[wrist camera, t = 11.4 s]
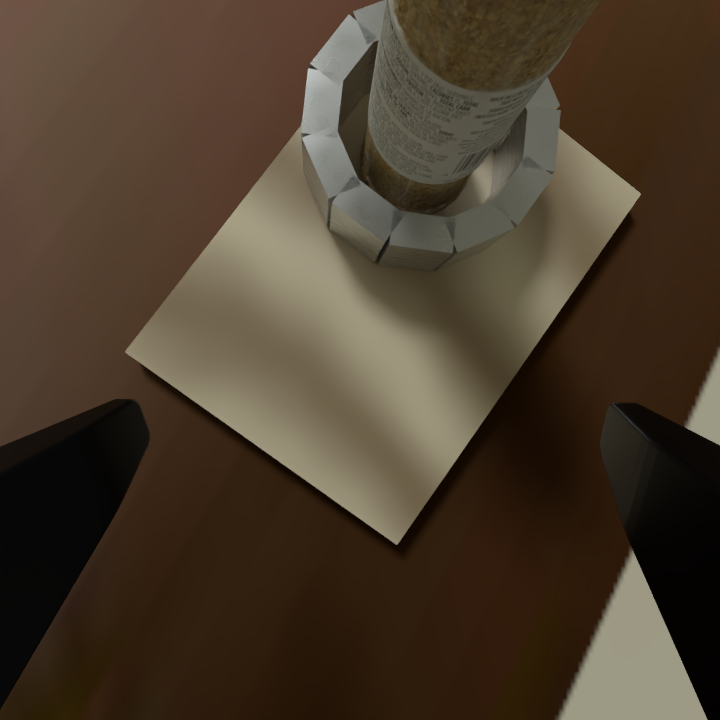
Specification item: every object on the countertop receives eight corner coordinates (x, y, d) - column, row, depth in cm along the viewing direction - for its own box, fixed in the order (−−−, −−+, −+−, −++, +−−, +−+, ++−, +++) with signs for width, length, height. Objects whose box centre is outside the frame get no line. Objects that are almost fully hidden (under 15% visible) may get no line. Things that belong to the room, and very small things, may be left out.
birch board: (392, 536, 19) (397, 545, 18) (135, 353, 18) (124, 352, 17) (625, 202, 20) (641, 193, 19) (394, 18, 20) (398, -1, 19)
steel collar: (439, 313, 18) (463, 302, 15) (261, 179, 18) (249, 140, 15) (560, 145, 19) (605, 103, 16) (391, 10, 19) (406, -59, 16)
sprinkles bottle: (436, 93, 19) (722, -624, 5) (486, 192, 19) (897, -262, 5) (337, 139, 18) (367, -499, 5) (388, 240, 18) (557, -113, 5)
